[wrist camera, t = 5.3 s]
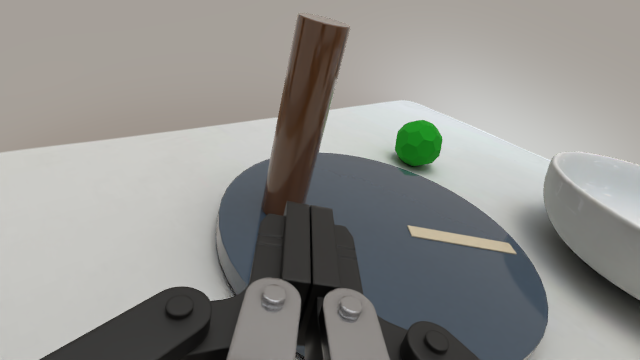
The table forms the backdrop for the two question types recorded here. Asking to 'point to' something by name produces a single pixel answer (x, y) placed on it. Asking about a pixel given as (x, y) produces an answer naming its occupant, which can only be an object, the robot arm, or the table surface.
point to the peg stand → (384, 220)
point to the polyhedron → (418, 143)
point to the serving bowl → (598, 213)
